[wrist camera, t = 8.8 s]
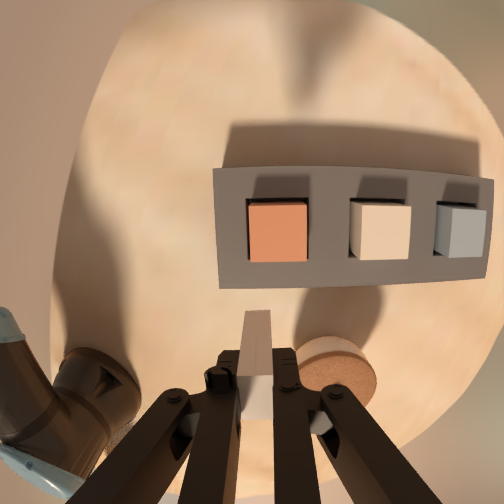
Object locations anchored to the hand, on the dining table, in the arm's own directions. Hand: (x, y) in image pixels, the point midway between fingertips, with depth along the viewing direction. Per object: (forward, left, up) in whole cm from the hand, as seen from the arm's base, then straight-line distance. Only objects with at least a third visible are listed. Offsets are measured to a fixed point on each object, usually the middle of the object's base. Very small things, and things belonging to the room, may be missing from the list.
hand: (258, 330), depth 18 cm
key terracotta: (+1, +4, -15) cm, 15 cm away
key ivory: (+11, +4, -15) cm, 19 cm away
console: (+11, +4, -17) cm, 21 cm away
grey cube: (+21, +4, -15) cm, 26 cm away
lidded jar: (+7, -14, -17) cm, 23 cm away
